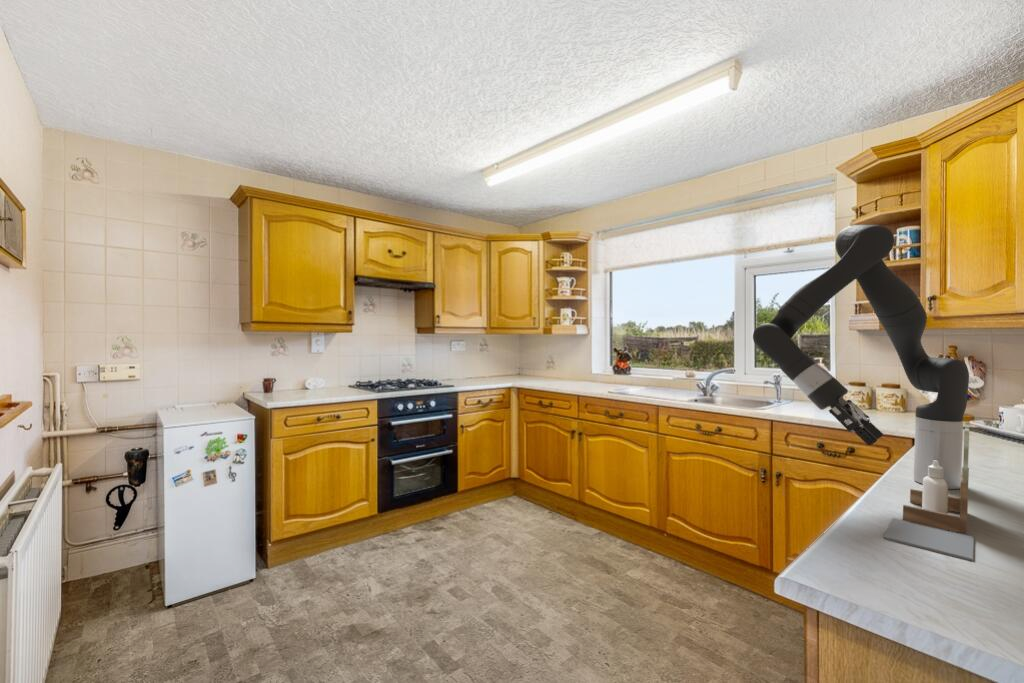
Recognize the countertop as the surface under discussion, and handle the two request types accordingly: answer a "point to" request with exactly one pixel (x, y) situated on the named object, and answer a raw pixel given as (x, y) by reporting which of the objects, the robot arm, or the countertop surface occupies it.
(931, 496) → the eye dropper bottle
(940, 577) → the countertop surface
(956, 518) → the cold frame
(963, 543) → the slate mat
